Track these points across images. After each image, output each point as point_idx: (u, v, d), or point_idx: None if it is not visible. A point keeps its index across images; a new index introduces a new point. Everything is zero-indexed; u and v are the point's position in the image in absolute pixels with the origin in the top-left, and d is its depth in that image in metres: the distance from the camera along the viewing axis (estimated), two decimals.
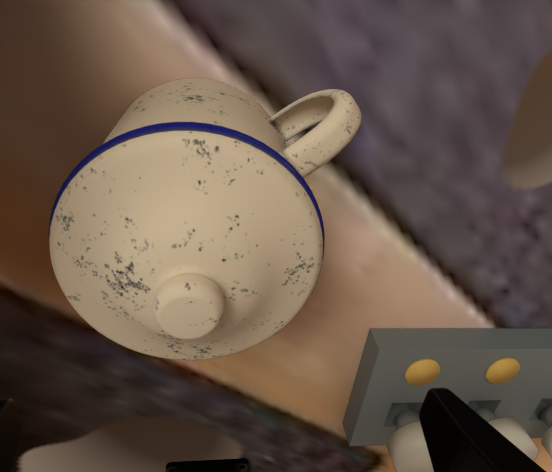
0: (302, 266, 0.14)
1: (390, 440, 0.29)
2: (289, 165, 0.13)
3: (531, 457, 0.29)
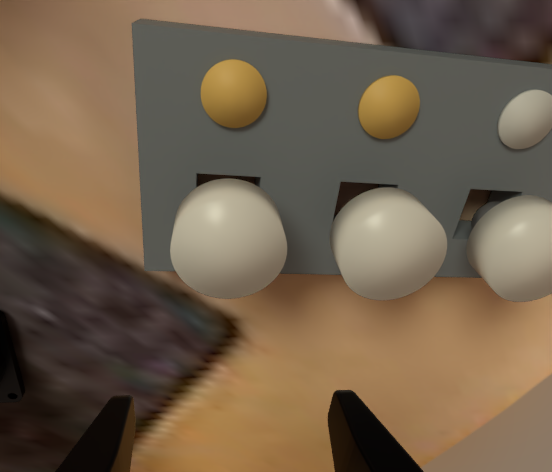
0: None
1: None
2: None
3: (436, 254, 0.16)
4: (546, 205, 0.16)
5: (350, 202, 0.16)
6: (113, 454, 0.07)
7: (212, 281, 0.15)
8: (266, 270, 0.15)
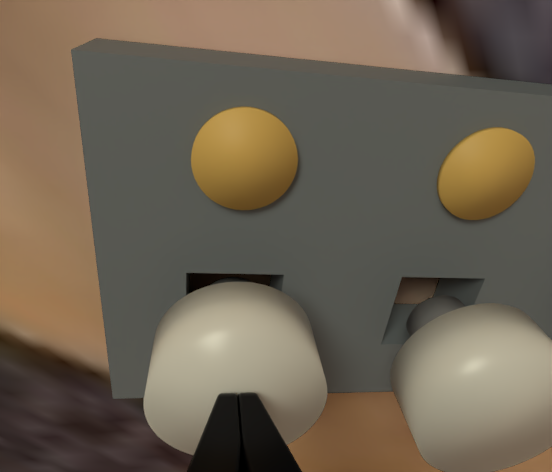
0: None
1: None
2: None
3: None
4: None
5: (428, 327, 0.10)
6: (238, 448, 0.08)
7: None
8: (294, 422, 0.10)
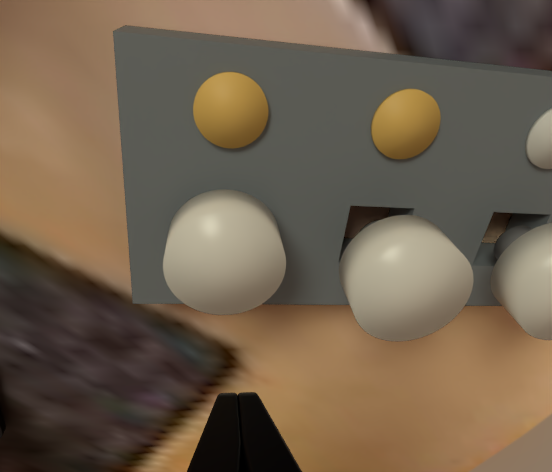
0: None
1: (168, 233, 0.15)
2: None
3: (461, 291, 0.14)
4: None
5: (363, 232, 0.14)
6: (238, 448, 0.08)
7: (207, 297, 0.14)
8: (264, 285, 0.15)
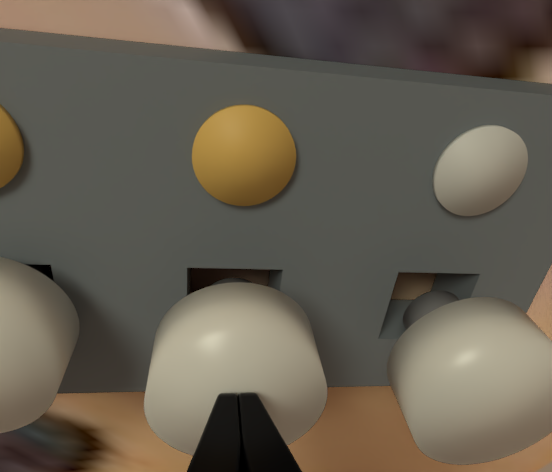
0: None
1: None
2: None
3: (310, 397, 0.10)
4: (506, 323, 0.10)
5: (175, 307, 0.10)
6: (238, 448, 0.08)
7: None
8: (30, 397, 0.10)
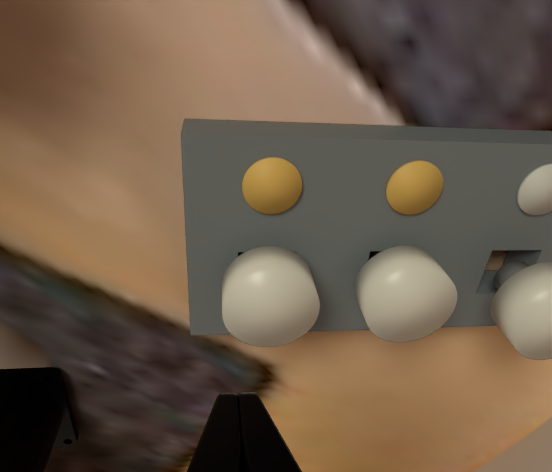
0: None
1: (222, 282, 0.18)
2: None
3: (448, 303, 0.18)
4: None
5: (371, 259, 0.19)
6: (238, 448, 0.08)
7: (256, 333, 0.18)
8: (302, 323, 0.18)
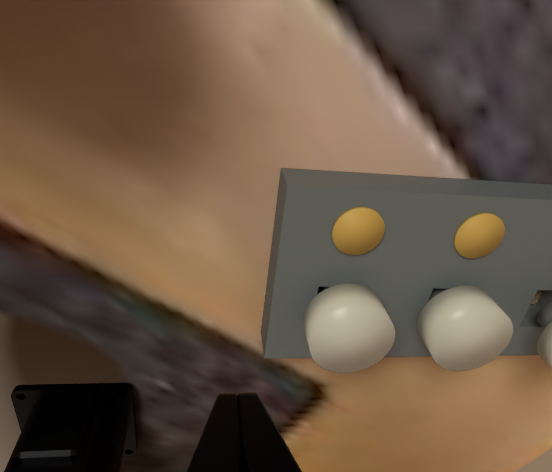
0: None
1: (304, 313, 0.20)
2: None
3: (504, 338, 0.21)
4: None
5: (436, 297, 0.21)
6: (238, 448, 0.08)
7: (336, 361, 0.20)
8: (377, 353, 0.20)
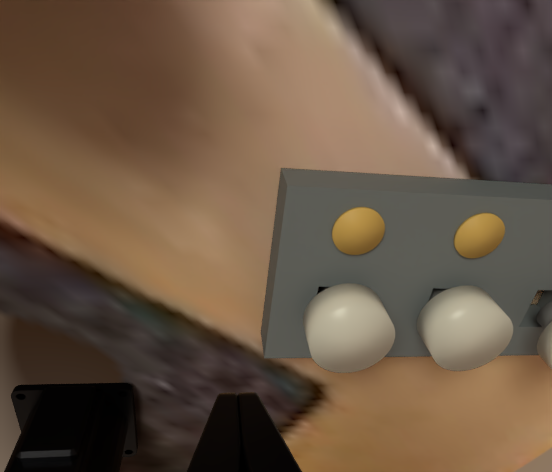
0: None
1: (304, 313, 0.20)
2: None
3: (504, 338, 0.21)
4: None
5: (436, 297, 0.21)
6: (238, 448, 0.08)
7: (336, 361, 0.20)
8: (377, 353, 0.20)
